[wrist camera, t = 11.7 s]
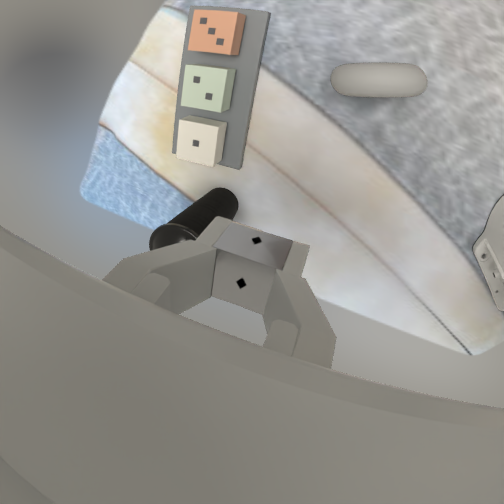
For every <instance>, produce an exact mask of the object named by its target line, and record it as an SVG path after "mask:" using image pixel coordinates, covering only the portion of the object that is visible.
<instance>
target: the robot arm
mask: <svg viewBox="0 0 504 504" xmlns="http://www.w3.org/2000/svg"><path fill="white" fill-rule="evenodd" d="M309 248H310V246H309V245H306V244H303V243H299V242H296V241H294V242H293V241H292V240H289V239H286V238H282V237H279V236H276V235H273V234H269V233H266V232H263V231H261V230H258V229H256V228H253V227H250V226H247V225H244V224H241V223H238V222H235V221H232V220H230V219H226V218H223V217H220V216H218V217H215V218H214V220H213V221H212V222H211V223H210V224H209V225H208V226H207V228H206V229H205V230H204V231H203V232H202V233H201V235H200V236H199V237H198V238H197V239H196V240H195V241H194V240H187V241H184V242H180V243H176V244H173V245H169V246H166V247H162V248H159V249H155V250H151V251H148V252H144V253H141V254H138V255H134V256H131V257H127V258H124V259H123V260H121V261H120V262H119V264H117V265H116V266H115V268H113V269H112V270H111V271H110V272H109V274H107V275H106V276H105V278H103V279H102V280H101V279H99V278H96V277H94V276H92V275H90V274H88V273H86V272H84V271H82V270H80V269H78V268H76V267H74V266H72V265H70V264H68V263H67V262H65V261H63V260H61V259H59V258H57V257H55V256H53V255H51V254H49V253H47V252H46V251H44V250H42V249H40V248H38V247H37V246H35V245H33V244H31V243H29V242H28V241H26V240H24V239H22V238H20V237H19V236H17V235H15V234H13V233H12V232H10V231H8V230H7V229H5V228H3V227H2V226H0V504H504V408H497V407H491V406H485V405H479V404H473V403H468V402H463V401H457V400H452V399H448V398H442V397H438V396H433V395H428V394H424V393H420V392H415V391H411V390H407V389H403V388H399V387H395V386H391V385H387V384H382V383H379V382H375V381H371V380H367V379H364V378H360V377H357V376H353V375H349V374H346V373H343V372H339V371H336V370H333V369H331V366H332V360H333V354H334V349H335V342H336V336H335V334H334V332H333V330H332V328H331V326H330V324H329V322H328V320H327V318H326V316H325V314H324V313H323V311H322V309H321V307H320V305H319V303H318V301H317V299H316V297H315V296H314V294H313V292H312V290H311V288H310V286H309V284H308V283H307V281H306V279H305V278H302V277H301V275H302V272H303V269H304V265H305V262H306V259H307V255H308V252H309ZM473 253H474V255H475V257H476V259H477V261H478V263H479V266H480V268H481V270H482V272H483V275H484V277H485V279H486V282H487V284H488V286H489V289H490V291H491V294H492V296H493V299H494V301H495V304H496V306H497V308H498V310H500V311H504V195H503V196H502V197H501V199H500V200H499V201H498V202H497V204H496V205H495V207H494V208H493V210H492V212H491V214H490V216H489V219H488V222H487V225H486V228H485V230H484V232H483V234H482V235H481V236H480V237H479V239H478V240H477V241H476V243H475V244H474V246H473ZM483 254H485V255H484V256H482V255H483ZM211 296H212V297H215V298H218V299H221V300H224V301H227V302H230V303H233V304H236V305H238V306H241V307H243V308H246V309H248V310H251V311H254V312H256V313H259V314H262V315H263V319H264V324H265V327H266V331H267V337H266V340H265V342H264V344H263V347H262V346H259V345H257V344H254V343H251V342H248V341H245V340H243V339H240V338H237V337H235V336H232V335H229V334H226V333H224V332H221V331H219V330H216V329H214V328H211V327H209V326H206V325H203V324H201V323H198V322H196V321H193V320H191V319H188V318H186V317H184V316H181V315H179V314H180V313H182V312H184V311H186V310H188V309H190V308H192V307H193V306H195V305H197V304H199V303H201V302H203V301H205V300H206V299H208V298H210V297H211Z"/></svg>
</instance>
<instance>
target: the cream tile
mask: <svg viewBox="0 0 504 504" xmlns="http://www.w3.org/2000/svg"><path fill="white" fill-rule="evenodd" d="M226 126H227V122H222V121H217V120H212V119H207V118H202V117H197V116H191V115H189V116H187V117H184V118H182V119H179V127H178V139H177V151H176V158H177V159H182V160H186V161H190V162H194V163H198V164H202V165H206V166H210V167H214V166H215V165H216V164H218V163H219V162H220V161H221V160H222V153H223V146H224V140H225V133H226Z"/></svg>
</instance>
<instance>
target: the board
mask: <svg viewBox="0 0 504 504" xmlns="http://www.w3.org/2000/svg"><path fill="white" fill-rule="evenodd" d="M194 10H217V11H230V12H239V13H241V14H244V15H246V18H245V23H244V28H243V33H242V39H241V44H240V49H239V55H228V54H220V53H212V52H202V51H191V50H188V45H189V39H190V32H191V26H192V20H193V15H194ZM270 14H271V13H270V12H266V11H258V10H250V9H240V8H229V7H213V6H190V10H189V16H188V22H187V28H186V34H185V41H184V47H183V54H182V62H181V69H180V77H179V85H178V94H177V104H176V113H175V124H174V136H173V149H172V153H174V154H176V151H177V139H178V127H179V119H182V118H184V117H187V116H189V115H191V116H197V117H202V118H207V119H212V120H217V121H222V122H227V126H226V133H225V140H224V146H223V153H222V160H221V161H220V162H219V163H218V164H219V165H223V166H227V167H231V168H235V169H238V170H239V169H240V168H241V167H242V161H243V156H244V150H245V144H246V139H247V133H248V128H249V122H250V117H251V111H252V106H253V101H254V95H255V90H256V85H257V79H258V74H259V69H260V64H261V59H262V54H263V49H264V44H265V39H266V34H267V29H268V24H269V19H270ZM186 64H204V65H212V66H219V67H226V68H233V69H236V72H235V77H234V83H233V89H232V95H231V101H230V107H229V109H228V110H226V111H223V112H221V113H219V112H214V111H209V110H204V109H198V108H192V107H186V106H181V98H182V90H183V81H184V73H185V66H186Z"/></svg>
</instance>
